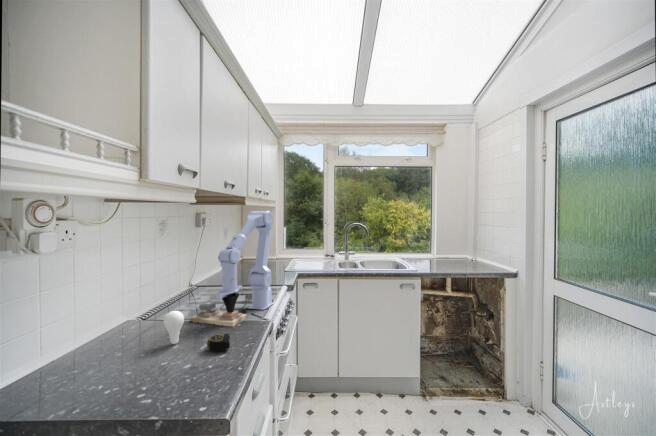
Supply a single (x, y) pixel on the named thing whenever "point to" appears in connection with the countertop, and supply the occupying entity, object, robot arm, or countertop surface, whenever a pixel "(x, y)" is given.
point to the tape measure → (218, 342)
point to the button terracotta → (230, 314)
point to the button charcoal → (207, 306)
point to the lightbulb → (174, 325)
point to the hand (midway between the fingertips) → (230, 312)
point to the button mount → (217, 318)
